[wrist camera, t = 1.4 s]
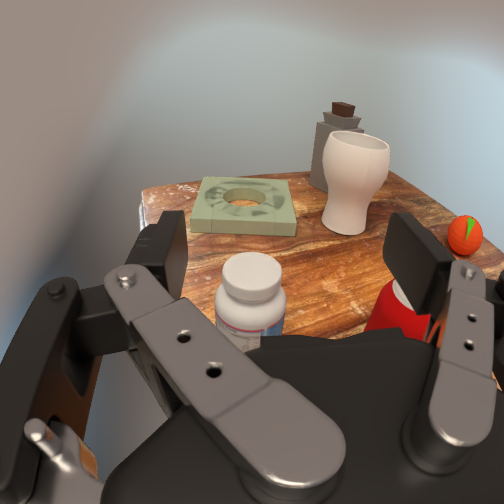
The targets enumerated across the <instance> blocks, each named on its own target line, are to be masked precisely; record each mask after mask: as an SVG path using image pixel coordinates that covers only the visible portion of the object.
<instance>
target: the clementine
mask: <svg viewBox="0 0 504 504" xmlns="http://www.w3.org/2000/svg"><path fill="white" fill-rule="evenodd" d="M482 240H483V232H482V228H481V226H480V224H479V223H478V221H477V220H476V219H475V218H473V217H471V216H467V215H464V216H459V217H457V218H455V219H454V220H453V221H452V222H451V224H450V226H449V228H448V242H449V244H450V246H451V248H452V249H453V250H454V251H455V252H456V253H458V254H460V255H470V254H473V253H474V252H476V251H477V250H478V249H479V247H480V246H481V243H482Z"/></svg>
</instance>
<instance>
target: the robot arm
mask: <svg viewBox="0 0 504 504" xmlns="http://www.w3.org/2000/svg"><path fill="white" fill-rule="evenodd" d="M383 259H384V262H385V263H386V265H387V267H388V268H389V270H390V271H391V273H392V275H393V276H394V278H395V279H396V281H397V283H398V284H399V286H400V288H401V289H402V291H403V293H404V294H405V296H406V298H407V299H408V301H409V303H410V304H411V306H412V308H413V310H414V311H415V313H416V315H417V316H419V315H428V314H430V315H431V316H430V318H429V320H428V323H427V326H426V329H425V333H424V336H423V340H422V341H421V340H418V339H414V338H409V337H405V335H404V333H403V331H402V329H401V327H395V328H385V329H374V330H368V331H365V332H362V333H359V334H356V335H352V336H349V337H346V338H343V339H338V340H334V339H326V338H318V337H311V336H303V335H279V336H260V347H259V348H255V349H252V350H249V351H246V352H242V351H241V350H240V349H239V348H238V347H237V346H236V345H235V344H233V343H232V342H231V341H230V340H229V339H228V338H227V337H226V336H225V335H224V334H223V333H222V332H221V331H220V330H219V329H218V328H217V327H216V326H215V325H214V324H213V323H212V322H211V321H210V320H209V319H208V318H207V317H206V316H205V315H204V314H203V313H202V312H201V311H200V310H199V309H198V308H197V307H196V306H195V305H194V304H193V303H192V302H191V301H190V300H189V299H187V298H186V297H182V298H180V296H181V292H182V287H183V282H184V277H185V273H186V268H187V263H188V245H187V235H186V224H185V214H184V211H183V210H178V211H163V213H162V215H161V217H160V219H159V221H158V224H149V225H148V226H147V227H145V228H144V229H143V230H142V231H141V232H140V234H139V236H138V238H137V240H136V242H135V244H134V247H133V248H132V250H131V252H130V254H129V256H128V258H127V260H126V262H125V264H124V265H122V266H119V267H117V268H115V269H113V270H111V271H110V272H109V273H108V274H107V275H106V276H105V279H104V284H103V285H100V286H96V287H91V288H86V289H81V290H80V289H79V286H78V284H77V281H76V280H74V279H73V278H69V277H61V278H56V279H53V280H51V281H49V282H47V283H46V284H45V285H44V286H42V287H41V288H40V290H39V291H38V293H37V295H36V296H35V298H34V300H33V302H32V304H31V305H30V307H29V309H28V310H27V312H26V314H25V316H24V318H23V320H22V321H21V323H20V325H19V327H18V329H17V331H16V333H15V335H14V337H13V339H12V341H11V343H10V345H9V347H8V349H7V351H6V353H5V355H4V357H3V360H2V362H1V364H0V504H504V270H503V271H502V272H501V274H500V276H499V278H498V280H497V281H495V280H490V279H485V274H484V272H483V271H482V270H481V269H480V268H479V267H478V266H477V265H475V264H473V263H471V262H469V261H466V260H456V259H455V257H454V256H453V255H452V254H451V253H450V252H449V251H448V250H447V248H446V247H445V246H443V245H442V243H441V242H440V241H439V240H437V238H436V236H435V235H434V234H433V233H432V232H431V231H429V230H428V229H426V228H425V227H423V225H422V224H421V223H420V222H419V221H418V220H417V219H416V218H415V217H414V216H413V215H412V214H410V213H392V215H391V216H390V220H389V224H388V228H387V233H386V237H385V241H384V245H383ZM125 350H126V351H127V353H128V355H129V356H130V358H131V359H132V361H133V363H134V364H135V366H136V367H137V369H138V371H139V372H140V374H141V375H142V377H143V378H144V380H145V381H146V383H147V384H148V386H149V387H150V389H151V390H152V392H153V394H154V396H155V397H156V399H157V401H158V403H159V405H160V407H161V408H162V410H163V411H164V413H165V414H166V416H167V417H168V420H167V421H166V422H165V423H163V424H162V425H161V426H160V427H159V428H158V429H157V430H156V431H155V432H154V433H153V434H152V435H151V436H150V437H149V438H148V439H147V440H145V441H144V442H143V443H142V444H141V445H140V446H139V447H138V448H137V449H136V450H135V451H134V452H132V453H131V454H130V455H129V456H128V457H127V458H126V459H125V460H124V461H123V462H121V463H120V464H119V465H118V466H117V467H116V468H115V469H114V470H113V471H112V473H111V474H110V475H109V477H108V478H107V480H106V482H105V483H103V482H100V480H99V477H98V474H97V462H96V458H95V456H94V453H93V452H92V451H91V449H90V448H89V447H88V446H87V445H86V444H85V443H84V442H83V441H84V436H85V430H86V425H87V420H88V416H89V411H90V407H91V402H92V398H93V393H94V389H95V385H96V381H97V377H98V372H99V369H100V365H101V361H102V358H103V355H106V354H111V353H116V352H121V351H125ZM492 371H493V373H494V375H495V377H496V379H497V381H498V383H499V385H500V387H501V389H502V391H501V390H499V389H498V388H497V382H496V380H495V379H493V378H492Z"/></svg>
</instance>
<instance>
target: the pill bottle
mask: <svg viewBox="0 0 504 504" xmlns="http://www.w3.org/2000/svg"><path fill="white" fill-rule="evenodd" d="M222 274H223V277H222V283H221V284H220V286H219V287H218V289H217V292H216V295H215V317H216V327H217V328H218V329H219V330H220V331H221V332H222V333H223V334H224V335H225V336H226V337H227V338H228V339H229V340H230V341H231V342H232V343H233V344H235V345H236V346H237V347H238V348H239V349H240V350H241V351H242V352H246V351H249V350H252V349H255V348H259V347H260V336H279V335H282V328H283V323H284V317H285V310H286V295H285V292H284V290H283V288H282V287H281V277H282V269H281V266H280V265H279V263H278V262H277V261H276V260H275V259H274V258H272V257H270V256H268V255H266V254H263V253H258V252H244V253H240V254H237V255H234V256H232V257H231V258H229V259H228V260H227V261H226V262H225V264H224V266H223V271H222Z"/></svg>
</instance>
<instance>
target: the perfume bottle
mask: <svg viewBox="0 0 504 504" xmlns="http://www.w3.org/2000/svg"><path fill="white" fill-rule="evenodd" d="M354 109H355V106H353V105H350V104H346V103H343V102H333V103H332V112H323V114H324V120H325V122H317V126H316V135H315V142H314V150H313V158H312V165H311V172H310V180H309V184H310V185H312V186H314V187H316V188H318V189H320V190H322V191H323V192H325V193H327V194H328V184H327V182H326V179H325V175H324V169H323V162H322V159H323V152H324V147H325V145H326V142H327V140H328V137H329V135H330V133H331V132H334V131H351V132H357V133H362V134H363V133H364V130H363V129H361V128H358V127H357V126H358V124H359V122H360V120H361V118H359V117H356V116H353V114H354Z"/></svg>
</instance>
